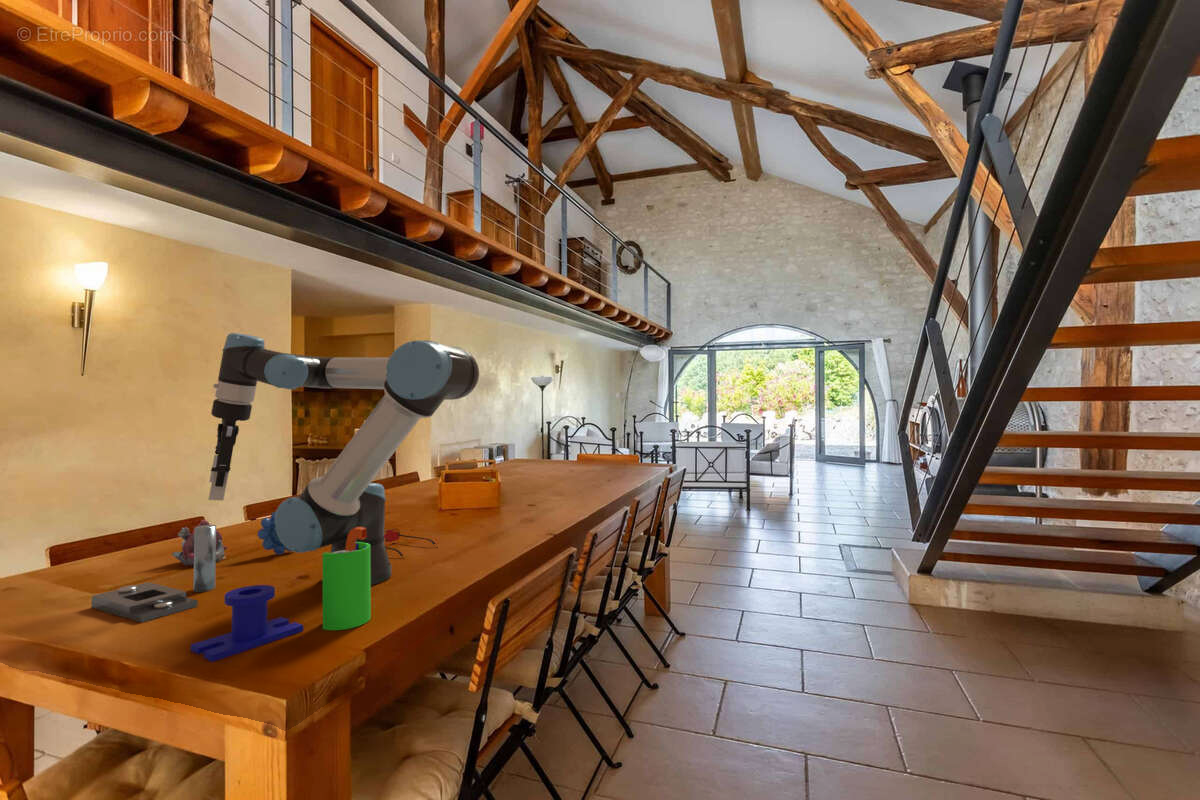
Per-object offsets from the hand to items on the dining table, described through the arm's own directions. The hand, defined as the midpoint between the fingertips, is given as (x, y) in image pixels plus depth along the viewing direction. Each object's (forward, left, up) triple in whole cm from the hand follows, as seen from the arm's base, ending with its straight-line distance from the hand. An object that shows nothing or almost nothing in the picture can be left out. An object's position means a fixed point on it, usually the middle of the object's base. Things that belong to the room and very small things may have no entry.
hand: (215, 490), depth 130 cm
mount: (-38, +16, -22) cm, 46 cm away
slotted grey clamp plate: (-2, +15, -22) cm, 26 cm away
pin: (-1, +3, -22) cm, 22 cm away
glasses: (-14, -43, -22) cm, 51 cm away
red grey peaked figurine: (+23, -10, -22) cm, 33 cm away
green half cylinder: (-46, +2, -22) cm, 50 cm away
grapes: (+11, -24, -22) cm, 34 cm away
